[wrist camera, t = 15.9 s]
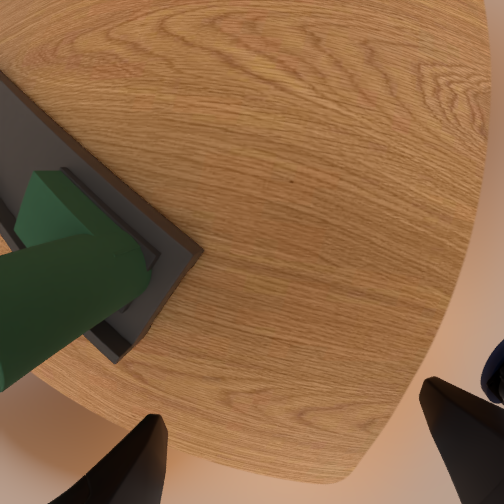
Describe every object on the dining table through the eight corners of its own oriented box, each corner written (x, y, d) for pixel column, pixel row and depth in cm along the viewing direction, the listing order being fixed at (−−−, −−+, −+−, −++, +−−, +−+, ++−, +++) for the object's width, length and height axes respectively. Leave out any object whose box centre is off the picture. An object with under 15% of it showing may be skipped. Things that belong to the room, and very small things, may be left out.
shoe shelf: (206, 247, 20) (181, 263, 16) (142, 338, 23) (114, 365, 19) (-12, 57, 21) (-34, 52, 16) (-38, 117, 23) (-59, 116, 19)
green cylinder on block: (166, 257, 18) (6, 345, 6) (131, 314, 20) (3, 412, 8) (67, 166, 18) (-79, 172, 6) (43, 224, 20) (-84, 256, 8)
